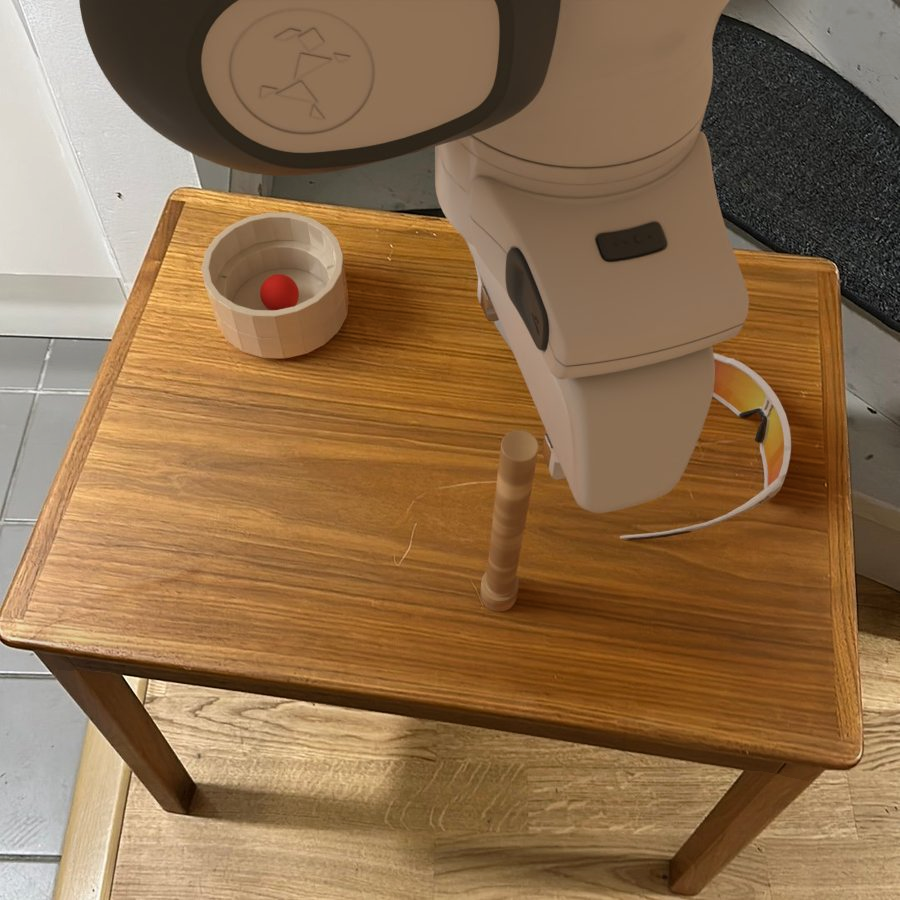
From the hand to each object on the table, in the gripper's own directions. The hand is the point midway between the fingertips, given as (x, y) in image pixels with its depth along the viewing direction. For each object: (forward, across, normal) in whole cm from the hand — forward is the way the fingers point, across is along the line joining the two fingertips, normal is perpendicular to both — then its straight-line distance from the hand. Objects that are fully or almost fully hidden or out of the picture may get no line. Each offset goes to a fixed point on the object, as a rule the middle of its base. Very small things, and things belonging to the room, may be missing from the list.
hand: (529, 382), depth 44 cm
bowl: (+26, -30, -10) cm, 41 cm away
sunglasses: (+26, -7, +17) cm, 32 cm away
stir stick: (+26, 0, 0) cm, 26 cm away
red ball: (+23, -30, -10) cm, 39 cm away
